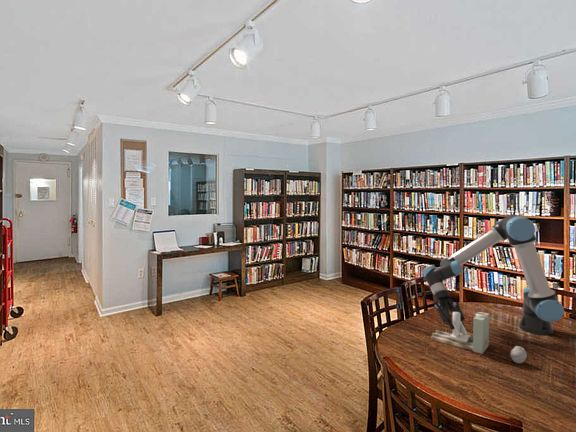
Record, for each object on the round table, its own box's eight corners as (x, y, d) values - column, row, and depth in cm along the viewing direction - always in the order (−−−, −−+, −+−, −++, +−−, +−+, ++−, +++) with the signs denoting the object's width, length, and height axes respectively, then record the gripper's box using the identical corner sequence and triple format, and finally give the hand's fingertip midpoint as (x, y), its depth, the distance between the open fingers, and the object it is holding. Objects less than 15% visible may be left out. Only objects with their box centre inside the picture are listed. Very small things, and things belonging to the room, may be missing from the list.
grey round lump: (529, 363, 151) (530, 347, 151) (522, 367, 147) (522, 351, 147) (514, 357, 156) (515, 342, 156) (506, 362, 153) (507, 346, 152)
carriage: (478, 339, 171) (478, 314, 170) (473, 344, 165) (473, 319, 164) (454, 333, 178) (454, 310, 177) (449, 338, 172) (449, 314, 172)
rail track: (479, 343, 171) (479, 339, 171) (473, 350, 164) (473, 345, 164) (437, 333, 185) (437, 328, 185) (430, 339, 178) (430, 334, 177)
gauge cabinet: (489, 345, 169) (490, 311, 168) (483, 354, 160) (484, 318, 159) (478, 342, 172) (479, 309, 171) (471, 351, 164) (472, 315, 163)
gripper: (450, 295, 190) (472, 336, 174) (423, 297, 186) (443, 339, 171) (457, 288, 184) (480, 330, 169) (429, 290, 181) (450, 333, 165)
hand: (461, 334), depth 170 cm, fingers closed on carriage, 4 cm apart
